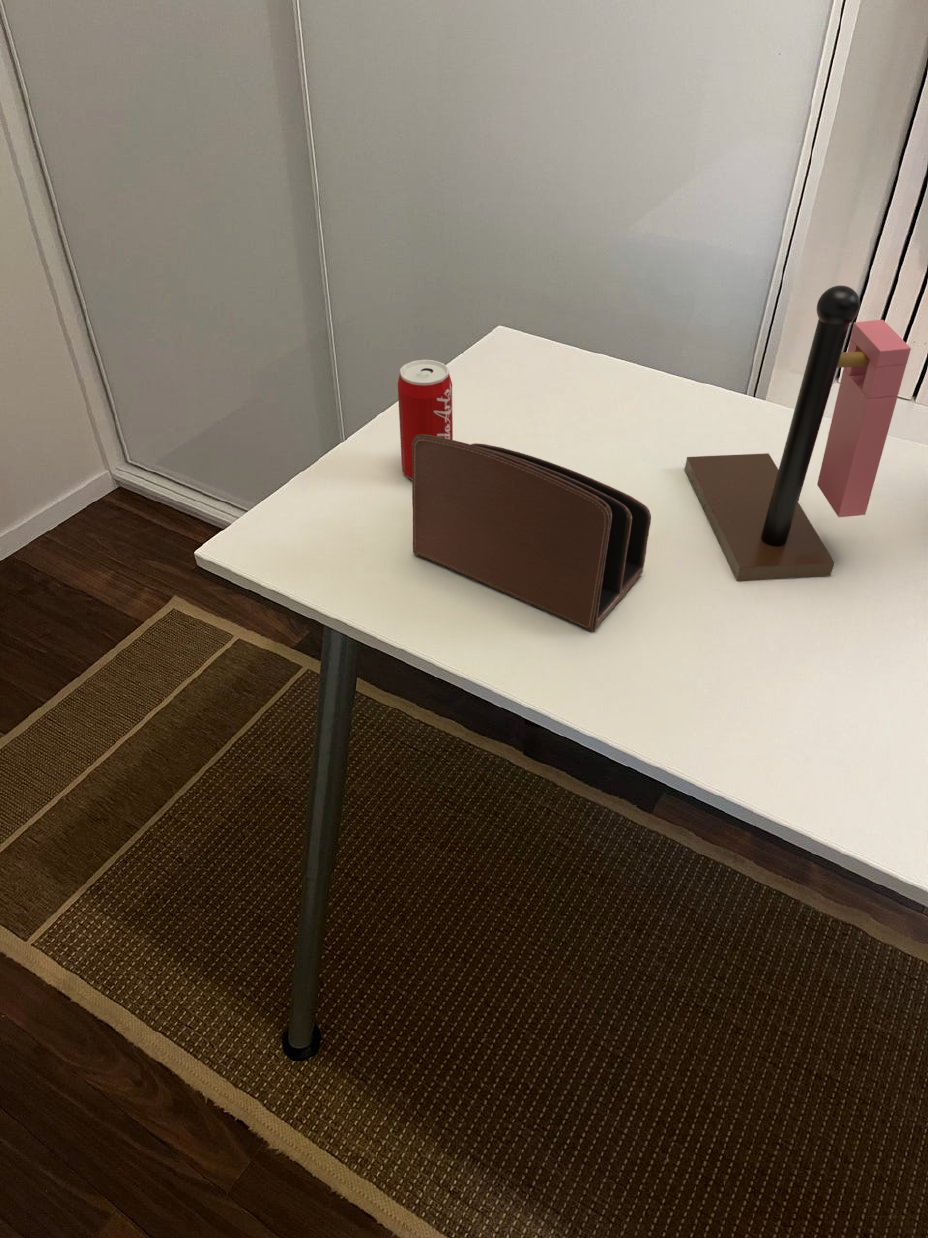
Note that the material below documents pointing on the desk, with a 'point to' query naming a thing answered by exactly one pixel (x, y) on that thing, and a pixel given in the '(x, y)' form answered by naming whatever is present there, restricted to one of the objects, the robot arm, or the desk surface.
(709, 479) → the stand
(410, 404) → the soda can
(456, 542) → the letter holder
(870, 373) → the pink block with hole
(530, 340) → the desk surface
